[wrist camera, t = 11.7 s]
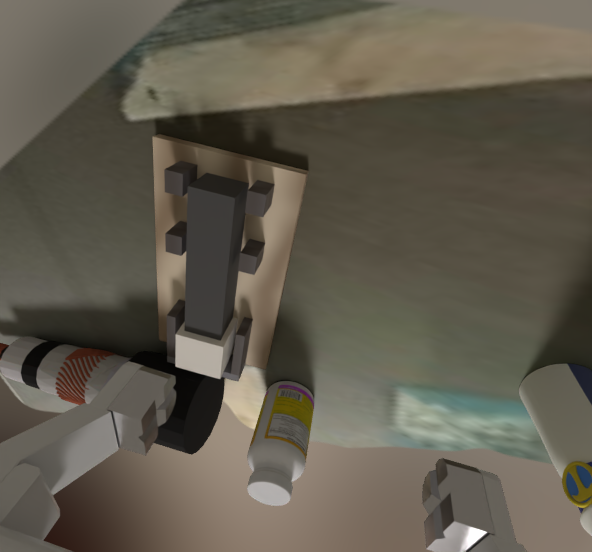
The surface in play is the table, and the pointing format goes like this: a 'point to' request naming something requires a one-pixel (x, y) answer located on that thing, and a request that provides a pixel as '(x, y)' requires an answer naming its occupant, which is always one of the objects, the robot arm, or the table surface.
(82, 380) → the cable
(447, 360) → the table surface
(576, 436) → the water bottle
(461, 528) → the robot arm
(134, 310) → the table surface
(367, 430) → the table surface
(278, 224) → the clip board
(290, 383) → the supplement bottle
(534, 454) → the table surface
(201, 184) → the bar
